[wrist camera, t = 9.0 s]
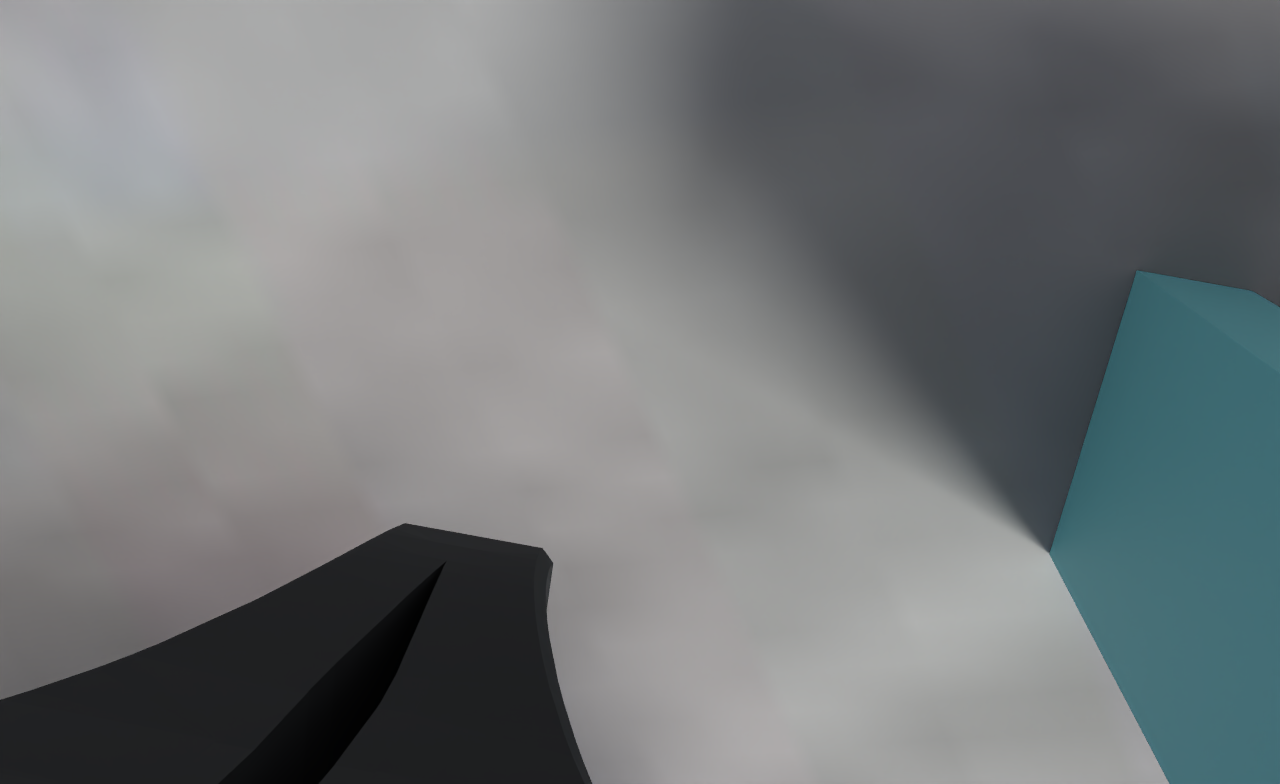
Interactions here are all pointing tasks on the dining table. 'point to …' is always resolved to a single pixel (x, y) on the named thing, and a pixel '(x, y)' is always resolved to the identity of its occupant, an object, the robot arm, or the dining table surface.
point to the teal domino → (1186, 527)
